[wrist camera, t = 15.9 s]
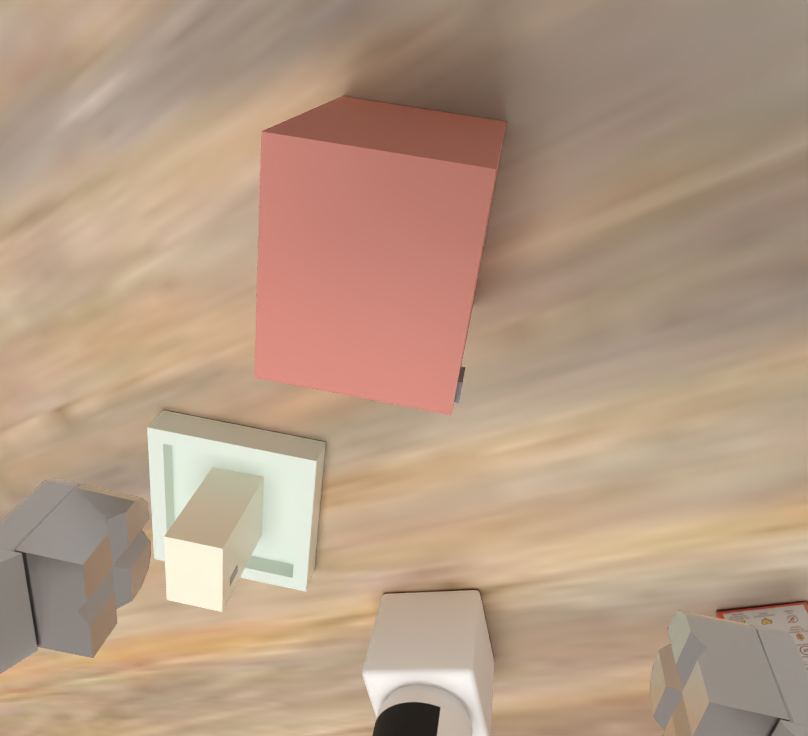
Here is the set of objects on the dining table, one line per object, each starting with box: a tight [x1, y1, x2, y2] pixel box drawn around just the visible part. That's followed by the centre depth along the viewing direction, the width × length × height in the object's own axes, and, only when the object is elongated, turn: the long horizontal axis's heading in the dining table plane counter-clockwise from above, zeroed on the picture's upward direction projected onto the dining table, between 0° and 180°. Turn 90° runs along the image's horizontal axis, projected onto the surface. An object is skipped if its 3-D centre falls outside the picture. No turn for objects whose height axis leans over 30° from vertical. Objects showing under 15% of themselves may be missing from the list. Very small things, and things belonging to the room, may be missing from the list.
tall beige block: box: [164, 467, 264, 612], centre depth 44 cm, size 4×5×7 cm
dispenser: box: [254, 96, 507, 415], centre depth 32 cm, size 9×10×12 cm
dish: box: [147, 410, 326, 592], centre depth 47 cm, size 11×11×2 cm
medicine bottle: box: [362, 590, 494, 736], centre depth 46 cm, size 7×7×12 cm
